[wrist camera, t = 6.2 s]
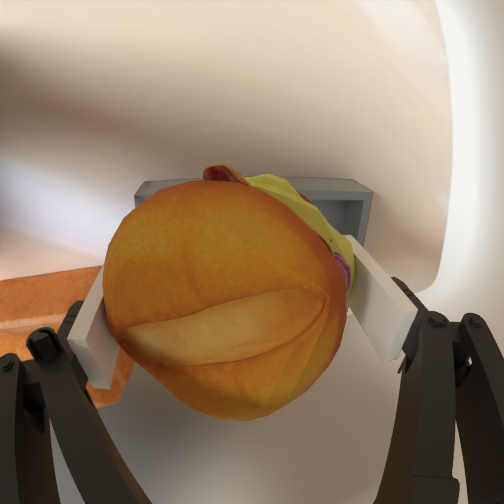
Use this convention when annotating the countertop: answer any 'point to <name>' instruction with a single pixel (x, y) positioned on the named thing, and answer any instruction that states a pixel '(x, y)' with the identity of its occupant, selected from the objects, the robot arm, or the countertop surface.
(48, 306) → the bread
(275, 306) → the cheeseburger
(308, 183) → the box
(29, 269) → the countertop surface
